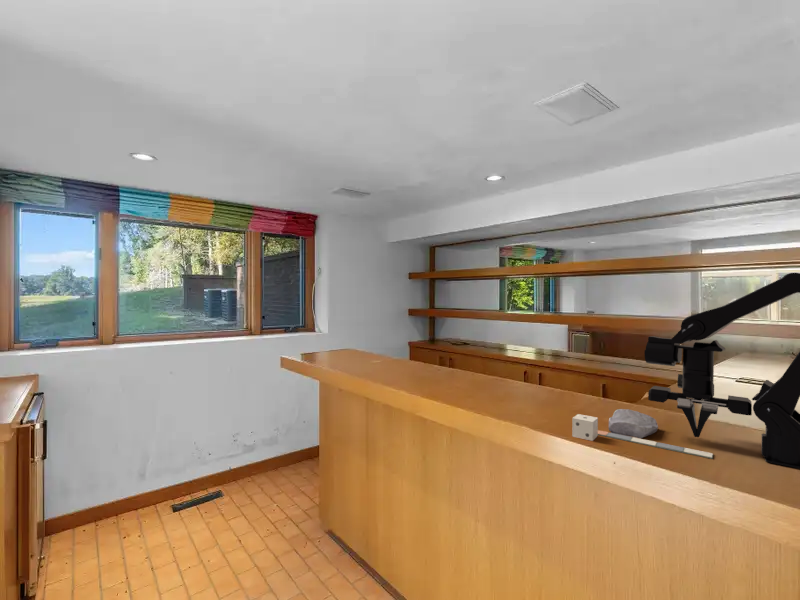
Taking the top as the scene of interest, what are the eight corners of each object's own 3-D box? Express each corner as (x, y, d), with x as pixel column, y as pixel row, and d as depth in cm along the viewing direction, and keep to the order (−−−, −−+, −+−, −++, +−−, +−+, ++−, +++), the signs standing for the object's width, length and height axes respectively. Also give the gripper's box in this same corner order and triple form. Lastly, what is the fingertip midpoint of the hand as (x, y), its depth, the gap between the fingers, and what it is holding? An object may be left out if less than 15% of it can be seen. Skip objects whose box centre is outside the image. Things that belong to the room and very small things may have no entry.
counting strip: (713, 454, 84) (713, 453, 84) (712, 458, 82) (712, 457, 82) (587, 429, 101) (587, 427, 101) (583, 431, 98) (583, 430, 98)
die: (597, 436, 96) (597, 417, 96) (592, 441, 92) (592, 421, 92) (577, 432, 98) (577, 413, 98) (571, 436, 95) (572, 417, 95)
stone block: (656, 435, 102) (613, 420, 108) (661, 418, 101) (617, 403, 107) (651, 451, 93) (604, 433, 99) (656, 431, 92) (609, 415, 98)
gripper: (750, 369, 92) (749, 437, 92) (655, 360, 104) (654, 420, 104) (752, 376, 83) (751, 451, 84) (648, 365, 95) (647, 430, 96)
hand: (696, 436), depth 92 cm, fingers closed
